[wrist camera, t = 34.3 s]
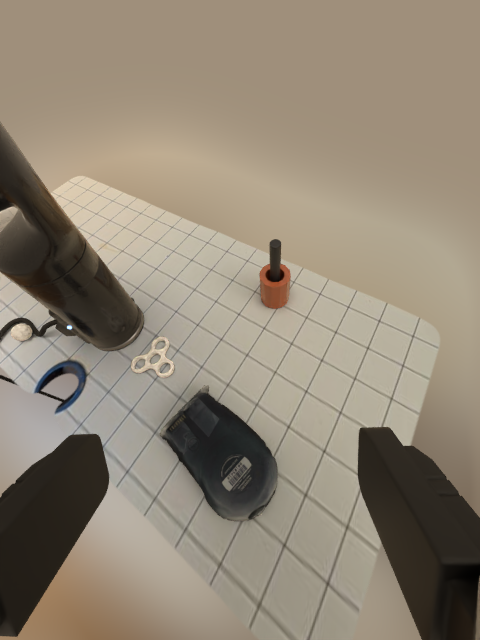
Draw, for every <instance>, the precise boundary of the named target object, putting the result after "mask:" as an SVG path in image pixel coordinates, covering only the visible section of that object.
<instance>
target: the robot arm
mask: <svg viewBox="0 0 480 640" xmlns="http://www.w3.org/2000/svg"><path fill="white" fill-rule="evenodd" d="M10 207H15V208H17V209H18V210H17V212H16V214H15V216H14V217H13V218H12V220H11V221H10V222H9V223H8V224H7V225H6V226H5V227H4V228H3V230H2V231H1V232H0V272H1V273H2V274H3V275H5V276H6V277H7V278H8V279H10V280H11V281H12V282H14V283H15V284H16V285H18V286H19V287H20V288H21V289H23V290H24V291H25V292H27V293H28V294H29V295H31V296H32V297H33V298H35V299H36V300H37V301H38V302H40V303H41V304H42V305H44V306H45V307H46V308H48V309H49V314H50V315H51V316H52V317H53V318H54V319H56V320H53V321H50V322H48V323H46V324H45V325H43V326H42V328H41V330H40V332H39V331H38V330H37V329H36V328H35V326H34V325H33V323H32V322H31V321H30V320H28V319H26V318H17V319H14V320H12V321H10V322H9V323H8V324H6V325H5V326H4V327H3V328H2V329H1V331H0V339H1V338H2V336H3V335H4V334H5V332H6V331H7V330H8V329H9V328H10V327H11V326H12V325H14V324H16V323H19V322H24V323H26V324H27V325H28V326H30V327H31V329H32V330H33V331H32V332H33V333H34V334H35V335H36V336H43V335H44V334H45V332H46V329H47V328H49V327H51V326H53V325H56V324H57V325H56V327H55V328H56V329H57V330H59V331H60V332H62V333H63V334H64V335H66V336H76V335H77V336H78V337H80V338H81V339H82V340H84V341H85V342H86V343H92V344H93V345H94V346H95V347H97V348H98V349H101V350H104V351H114V350H119V349H121V348H124V347H126V346H127V345H129V344H130V343H132V342H133V341H134V340H135V339H136V338H137V337H138V335H139V334H140V332H141V330H142V328H143V324H144V316H143V313H142V311H141V310H140V308H139V307H138V306H137V305H136V304H135V303H134V300H133V298H131V297H130V296H129V295H128V294H127V292H126V291H125V290H124V288H123V287H122V286H121V284H120V283H119V282H118V281H117V279H116V278H115V277H114V275H113V274H112V273H111V271H110V270H109V269H108V267H107V266H106V265H105V264H104V262H103V261H102V260H101V258H100V257H99V256H98V254H97V253H96V252H95V251H94V249H93V248H92V247H91V246H90V244H89V243H88V242H87V240H86V239H85V238H84V236H83V235H82V234H81V233H80V231H79V230H78V229H77V228H76V226H75V225H74V224H73V222H72V221H71V220H70V218H69V217H68V216H67V215H66V213H65V212H64V211H63V209H62V208H61V207H60V205H59V204H58V203H57V201H56V200H55V199H54V197H53V196H52V195H51V193H50V192H49V191H48V189H47V188H46V187H45V185H44V184H43V182H42V181H41V180H40V178H39V177H38V175H37V174H36V172H35V171H34V170H33V168H32V167H31V165H30V164H29V162H28V161H27V159H26V158H25V156H24V155H23V153H22V152H21V150H20V149H19V148H18V146H17V145H16V143H15V142H14V140H13V139H12V137H11V136H10V135H9V133H8V132H7V131H6V129H5V128H4V126H3V125H2V124H1V122H0V212H1V211H3V210H5V209H7V208H10ZM0 379H2V380H5V381H7V382H10V383H12V384H15V385H17V384H16V383H15V382H14V381H13V380H12V379H10V378H7V377H5V376H2V375H0ZM38 393H39V394H42V395H45V396H47V397H50V398H53V399H55V400H58V401H61V402H63V401H64V399H61V398H59V397H56V396H53V395H51V394H48V393H46V392H43V391H40V392H38ZM358 479H359V485H360V489H361V493H362V496H363V498H364V501H365V503H366V506H367V508H368V511H369V513H370V515H371V518H372V520H373V523H374V525H375V527H376V530H377V532H378V535H379V537H380V539H381V542H382V544H383V547H384V549H385V551H386V554H387V556H388V559H389V561H390V564H391V566H392V568H393V571H394V573H395V576H396V578H397V581H398V583H399V585H400V588H401V590H402V593H403V595H404V597H405V600H406V602H407V605H408V607H409V610H410V612H411V614H412V617H413V619H414V622H415V624H416V626H417V629H418V631H419V633H420V636H421V639H422V640H480V518H479V517H478V515H477V514H476V513H475V512H474V510H473V509H472V508H471V507H470V506H469V504H468V503H467V502H466V501H465V499H464V498H463V497H462V496H460V495H459V493H458V491H457V490H456V488H455V487H454V486H453V485H452V483H451V482H450V481H449V480H447V479H446V476H445V475H444V474H443V472H442V471H441V470H440V469H439V467H438V466H437V465H436V464H435V463H434V461H433V460H432V459H430V458H429V457H428V456H426V455H425V454H424V453H422V452H420V451H419V450H418V449H416V448H415V447H414V446H403V445H402V444H401V442H400V441H399V440H398V438H397V437H396V435H395V434H394V433H393V431H392V430H391V429H390V428H389V427H372V428H360V430H359V447H358ZM108 484H109V472H108V468H107V464H106V460H105V455H104V451H103V447H102V443H101V439H100V437H99V436H98V435H97V434H79V435H70V436H69V437H67V438H66V439H65V440H64V441H63V442H62V443H61V444H60V445H59V446H58V447H57V448H56V449H55V450H54V451H53V452H52V453H50V454H48V455H47V456H46V457H44V458H42V459H41V460H39V461H38V462H36V463H35V464H33V465H32V466H31V467H30V468H29V469H28V470H26V471H25V472H24V473H23V474H22V475H21V476H20V477H19V478H18V479H17V480H16V483H15V484H12V485H11V486H10V487H9V488H8V489H7V490H6V491H4V493H2V496H1V497H0V636H15V637H17V636H18V634H19V633H20V631H21V630H22V628H23V626H24V625H25V623H26V622H27V620H28V618H29V616H30V615H31V614H32V612H33V610H34V609H35V607H36V606H37V604H38V602H39V601H40V599H41V598H42V596H43V594H44V593H45V591H46V590H47V588H48V586H49V584H50V583H51V582H52V580H53V578H54V577H55V575H56V574H57V572H58V570H59V569H60V567H61V566H62V564H63V562H64V561H65V559H66V558H67V556H68V554H69V553H70V551H71V550H72V548H73V546H74V545H75V543H76V542H77V540H78V538H79V537H80V535H81V533H82V532H83V530H84V529H85V527H86V525H87V524H88V522H89V521H90V519H91V517H92V516H93V514H94V513H95V511H96V509H97V508H98V506H99V505H100V503H101V501H102V500H103V498H104V496H105V494H106V491H107V489H108Z"/></svg>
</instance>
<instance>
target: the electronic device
mask: <svg viewBox="0 0 480 640" xmlns="http://www.w3.org/2000/svg"><path fill="white" fill-rule="evenodd" d="M208 391H209V386H205V385H204V386H203V387H202V389H201V390H200V391H199V392H198V393H197V394H196V395H195V396H194V397H193V398H192V399H191V400H190V401H189V402H188V403H187V404H186V405H185V406H183V407H182V409H181V410H179V411H178V413H177V414H176V415H175V416H174V417H173V418H172V419H171V420H170V421H169V422H168V423H167V424H166V425H165V426H164V427H163V429H162V430H161V433H160V436H161V437H162V438H163V439H165V440H167V442H168V444H169V445H170V447H171V448H172V449H173V451H174V452H175V453H176V454H177V456H178V458H179V460H180V461H181V462H182V463H183V464H184V465H185V467H186V468H187V469H188V471H189V472H190V474H191V475H192V476H193V478H194V479H195V480H196V482H197V483H198V484H199V486H200V487H201V489H202V491H203V493H204V495H205V498H206V500H207V502H208V504H209V505H210V506H211V507H212V509H213V510H214V511H215V512H216V513H217V514H218V515H219V516H221V517H222V518H224V519H227V520H232V521H246V520H250V519H252V518H254V517H256V516H261V515H262V512H263V510H264V509H265V508H266V506H267V505H268V503H269V502H270V500H271V498H272V496H273V495H274V493H275V489H276V486H277V464H276V461H275V458H274V457H272V453H271V451H270V450H269V449H268V447H266V445H265V442H264V441H263V440H262V439H261V438H260V437H259V436H258V435H257V434H256V433H255V432H254V431H253V430H252V429H251V428H250V427H249V426H248V425H247V424H246V423H245V422H244V421H243V420H241V419H240V418H239V417H238V416H237V415H235V414H234V413H233V412H232V411H230V410H229V409H228V408H227V407H225V406H224V405H221V404H220V403H219V402H217V401H216V400H215V399H214V398H213V397H211V396H210V395H208Z"/></svg>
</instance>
